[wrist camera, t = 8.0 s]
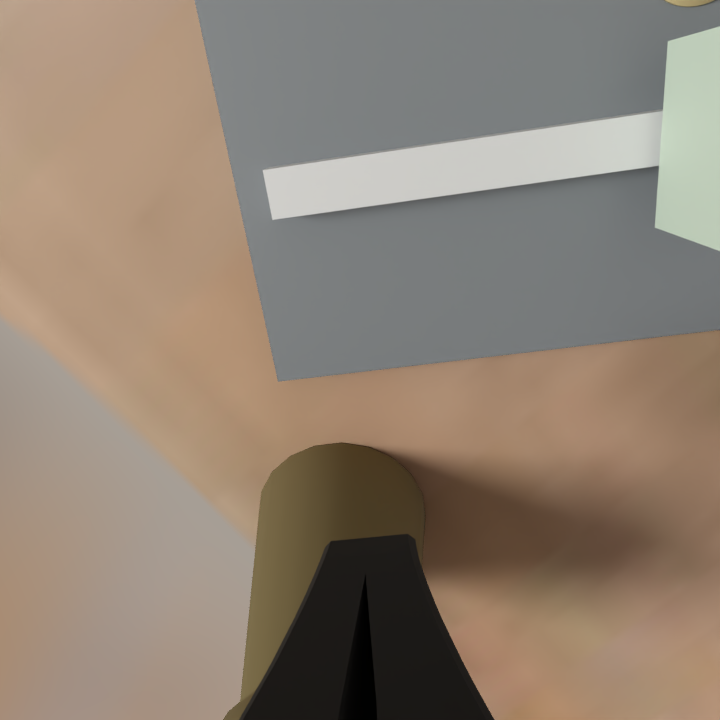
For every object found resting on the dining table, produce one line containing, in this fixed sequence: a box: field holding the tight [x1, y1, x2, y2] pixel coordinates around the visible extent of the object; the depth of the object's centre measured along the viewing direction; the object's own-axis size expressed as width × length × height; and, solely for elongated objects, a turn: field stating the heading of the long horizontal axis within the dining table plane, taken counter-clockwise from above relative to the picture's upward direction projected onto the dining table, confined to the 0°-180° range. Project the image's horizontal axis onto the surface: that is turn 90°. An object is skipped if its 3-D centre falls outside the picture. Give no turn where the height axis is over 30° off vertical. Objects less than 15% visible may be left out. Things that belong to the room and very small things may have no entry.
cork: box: [223, 443, 425, 720], centre depth 15 cm, size 6×6×11 cm
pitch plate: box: [195, 0, 720, 381], centre depth 12 cm, size 12×22×6 cm, turn 98°
